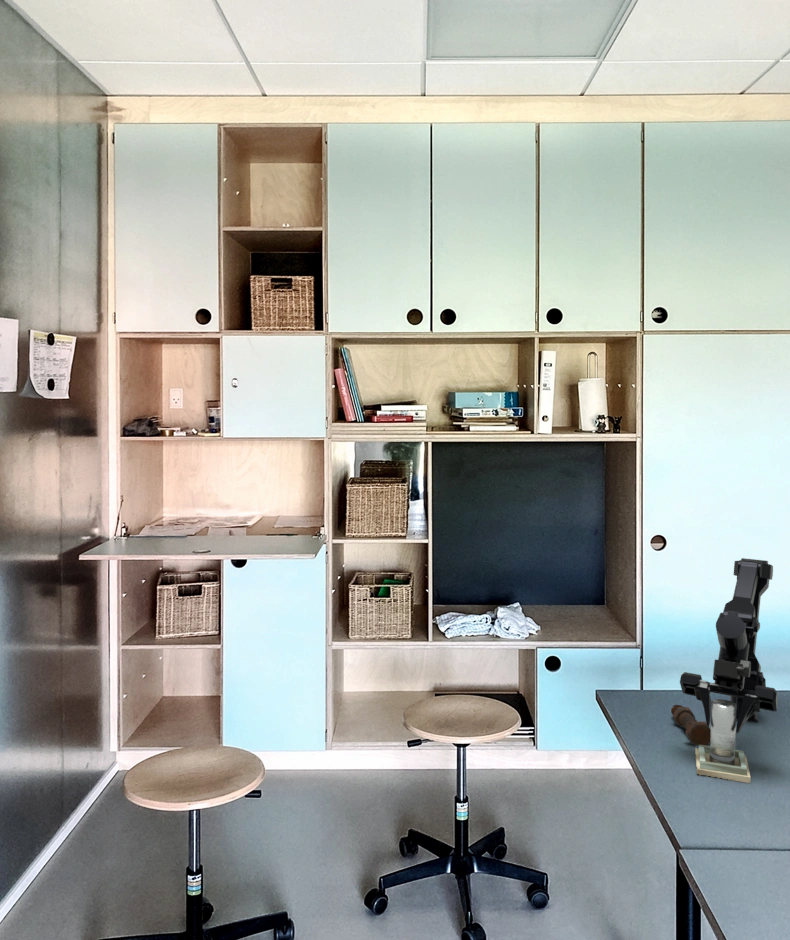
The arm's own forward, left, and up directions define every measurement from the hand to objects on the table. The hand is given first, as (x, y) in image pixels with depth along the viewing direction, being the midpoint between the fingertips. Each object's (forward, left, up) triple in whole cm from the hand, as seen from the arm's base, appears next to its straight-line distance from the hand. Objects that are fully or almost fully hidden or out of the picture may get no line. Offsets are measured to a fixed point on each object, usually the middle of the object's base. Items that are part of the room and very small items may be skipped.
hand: (722, 729), depth 156 cm
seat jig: (-1, 0, -9) cm, 9 cm away
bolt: (-18, -6, -9) cm, 21 cm away
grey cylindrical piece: (-1, 0, -8) cm, 8 cm away
